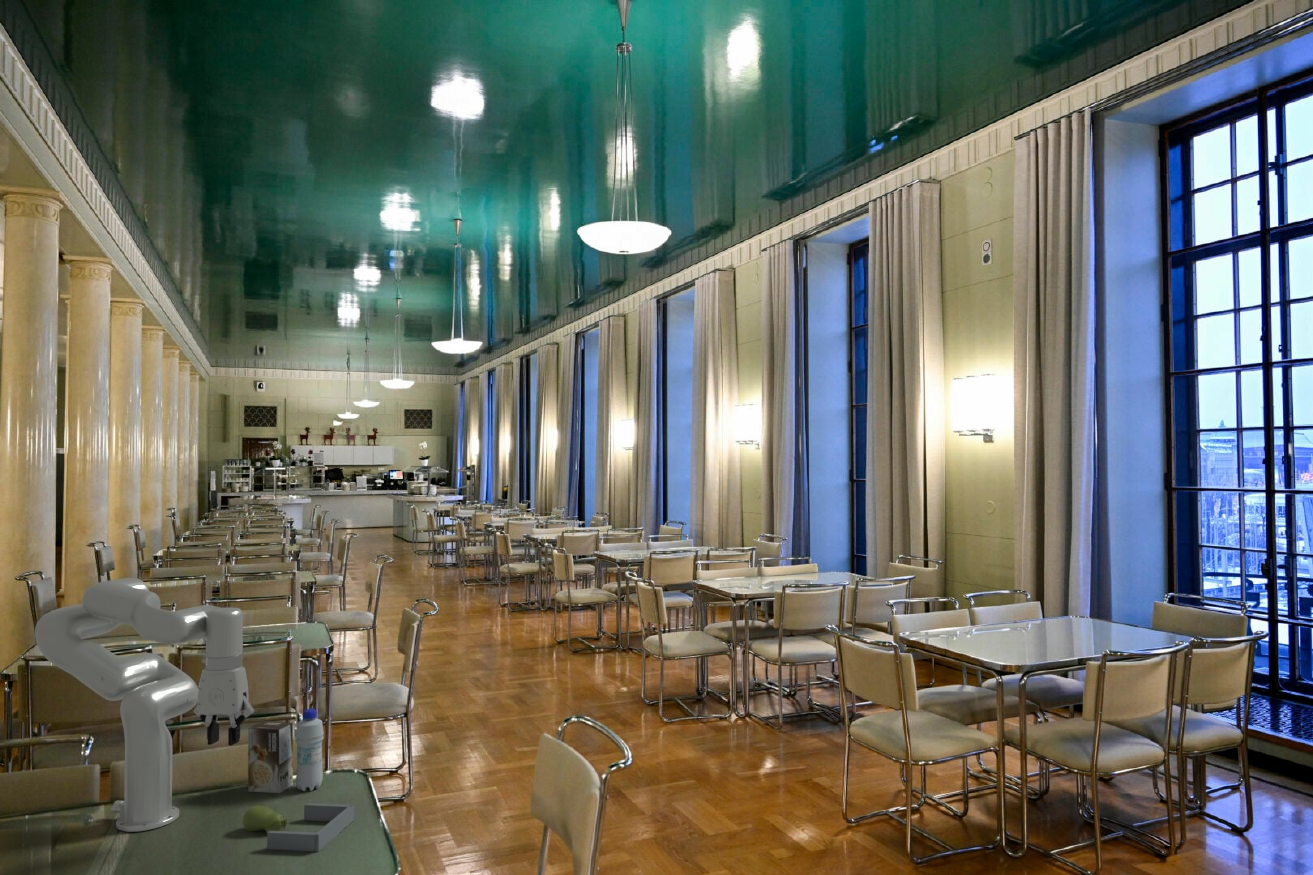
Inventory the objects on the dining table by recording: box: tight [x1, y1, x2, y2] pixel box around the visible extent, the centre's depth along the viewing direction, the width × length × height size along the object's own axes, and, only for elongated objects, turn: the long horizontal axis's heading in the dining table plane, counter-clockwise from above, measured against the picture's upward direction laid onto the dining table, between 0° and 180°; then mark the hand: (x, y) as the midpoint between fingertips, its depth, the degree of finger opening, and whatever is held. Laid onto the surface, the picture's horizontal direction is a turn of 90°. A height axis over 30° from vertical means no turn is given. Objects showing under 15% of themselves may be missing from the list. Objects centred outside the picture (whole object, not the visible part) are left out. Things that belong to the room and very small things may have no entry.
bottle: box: [295, 708, 325, 792], centre depth 217 cm, size 7×7×20 cm
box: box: [266, 802, 355, 853], centre depth 189 cm, size 12×16×4 cm
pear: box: [242, 805, 288, 833], centre depth 192 cm, size 6×5×10 cm
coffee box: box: [247, 720, 294, 794], centre depth 217 cm, size 9×6×16 cm
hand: (223, 742), depth 193 cm, fingers open, 4 cm apart
